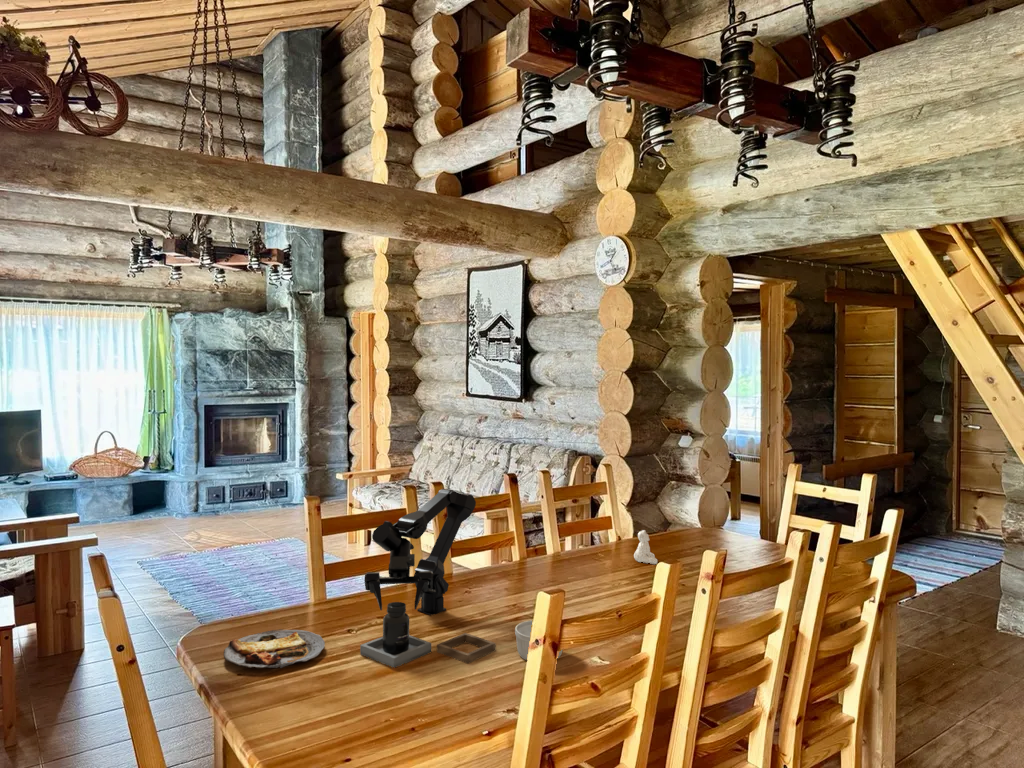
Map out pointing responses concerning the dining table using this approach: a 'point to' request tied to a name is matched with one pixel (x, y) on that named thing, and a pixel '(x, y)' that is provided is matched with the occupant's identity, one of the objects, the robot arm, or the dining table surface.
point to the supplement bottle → (396, 629)
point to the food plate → (273, 648)
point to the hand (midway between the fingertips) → (398, 609)
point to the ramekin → (524, 638)
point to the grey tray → (376, 653)
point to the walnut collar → (462, 656)
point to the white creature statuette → (644, 549)
